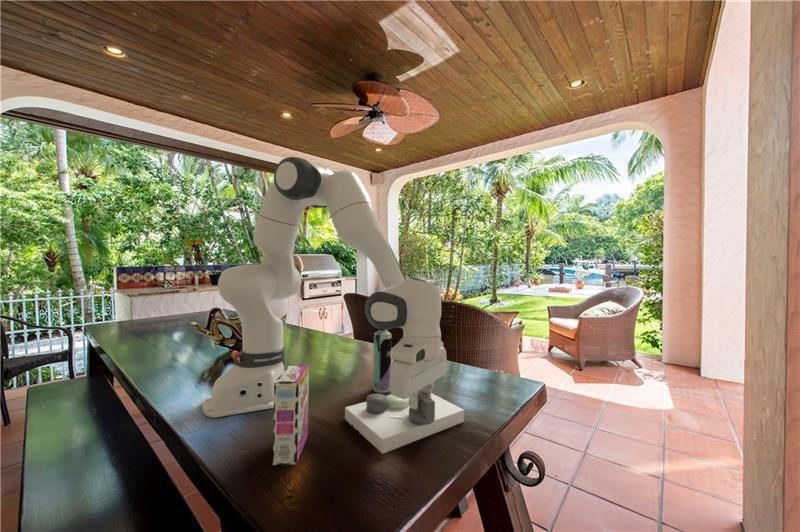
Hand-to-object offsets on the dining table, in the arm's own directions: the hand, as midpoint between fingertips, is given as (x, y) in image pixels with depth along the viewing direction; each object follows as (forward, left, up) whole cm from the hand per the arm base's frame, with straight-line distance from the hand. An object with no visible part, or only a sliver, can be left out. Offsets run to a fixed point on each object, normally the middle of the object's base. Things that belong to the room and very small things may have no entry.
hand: (420, 404), depth 76 cm
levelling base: (0, +7, -7) cm, 9 cm away
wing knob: (0, 0, -4) cm, 4 cm away
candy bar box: (-27, +10, -7) cm, 30 cm away
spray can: (+6, +27, -7) cm, 28 cm away
